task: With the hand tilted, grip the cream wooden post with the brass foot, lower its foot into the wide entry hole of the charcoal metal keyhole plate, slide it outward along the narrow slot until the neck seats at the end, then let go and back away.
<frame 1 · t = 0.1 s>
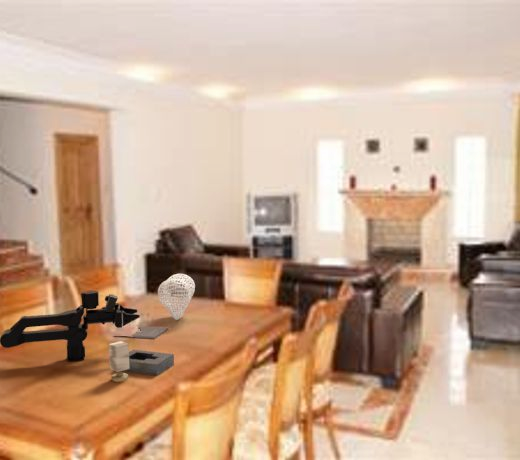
hand: (138, 313, 242), 17 cm above the table, tool horizontal, fingers open, 9 cm apart
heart: (177, 319, 298), on the table
keyhole post: (119, 379, 213), on the table
keyhole plate: (145, 367, 225), on the table
play button award: (142, 334, 274), on the table
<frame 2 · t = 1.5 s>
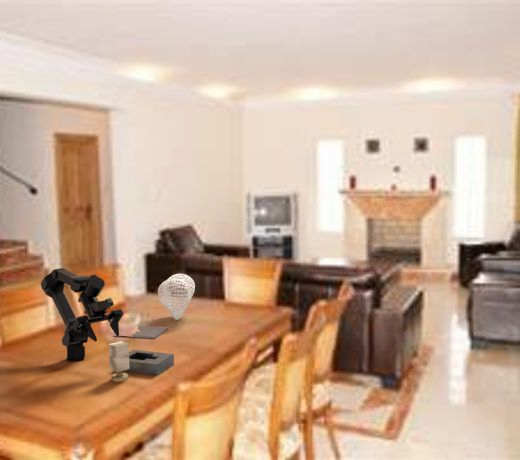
hand: (107, 338, 217), 13 cm above the table, tool tilted 45°, fingers open, 9 cm apart
nothing on the table moved.
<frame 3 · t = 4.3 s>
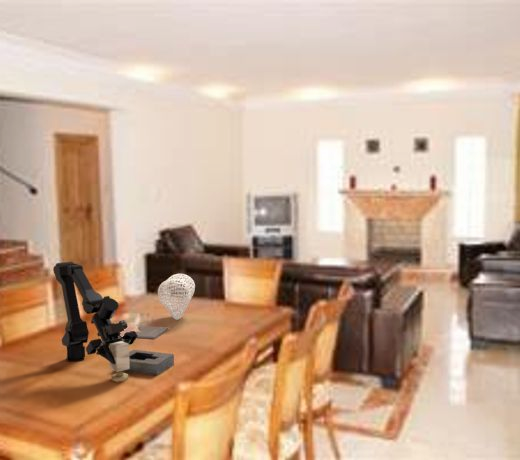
hand: (121, 362, 211), 7 cm above the table, tool tilted 45°, fingers closed on keyhole post, 5 cm apart
keyhole post: (119, 378, 213), on the table, touching gripper
everything else where it was.
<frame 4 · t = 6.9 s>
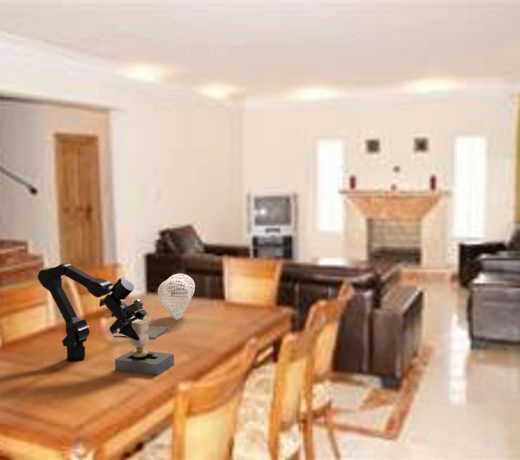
hand: (142, 338, 224), 11 cm above the table, tool tilted 45°, fingers closed on keyhole post, 5 cm apart
keyhole post: (139, 354, 225), point 5 cm above the table, touching gripper
everything else where it was.
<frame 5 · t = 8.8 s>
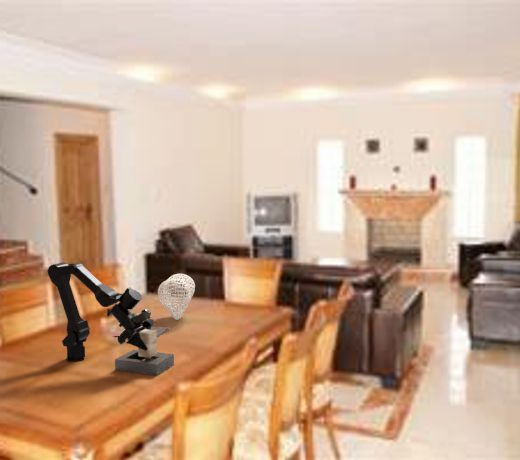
hand: (150, 347, 224), 8 cm above the table, tool tilted 45°, fingers closed on keyhole post, 5 cm apart
keyhole post: (147, 364, 225), point 1 cm above the table, touching gripper
everything else where it was.
when the fingers open (8 cm above the table, at t = 9.9 s): keyhole post stays where it is, resting on keyhole plate.
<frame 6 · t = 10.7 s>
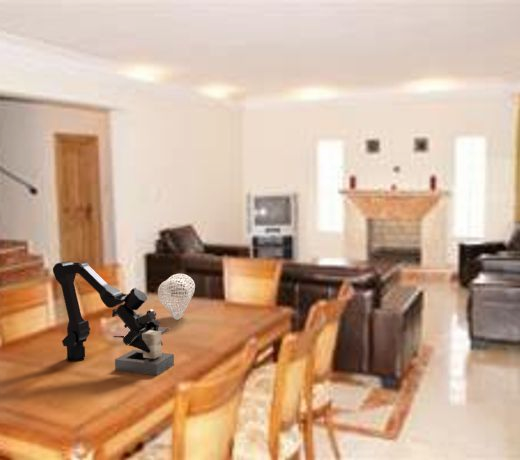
hand: (155, 348, 223), 8 cm above the table, tool tilted 45°, fingers open, 9 cm apart
keyhole post: (152, 365, 224), point 1 cm above the table, touching keyhole plate
everything else where it was.
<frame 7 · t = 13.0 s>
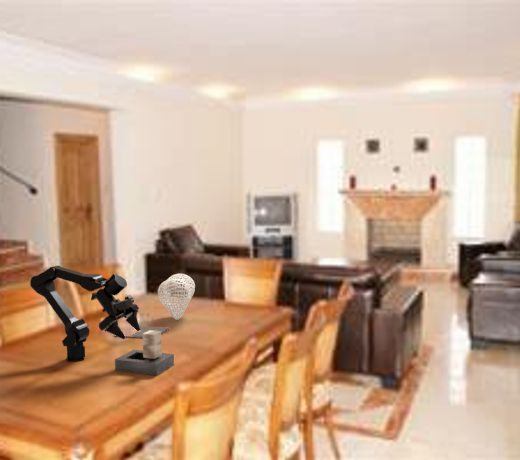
hand: (132, 334, 226), 12 cm above the table, tool tilted 40°, fingers open, 9 cm apart
nothing on the table moved.
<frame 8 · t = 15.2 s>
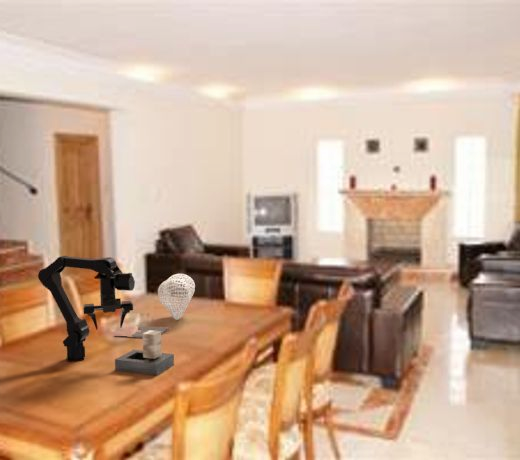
hand: (109, 328, 232), 13 cm above the table, tool pointing down, fingers open, 9 cm apart
nothing on the table moved.
at the end: keyhole post 0.1 cm from the target spot on the keyhole plate, point 1.0 cm above the keyhole plate's base; keyhole post tilted 0°; the gripper is holding nothing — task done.
